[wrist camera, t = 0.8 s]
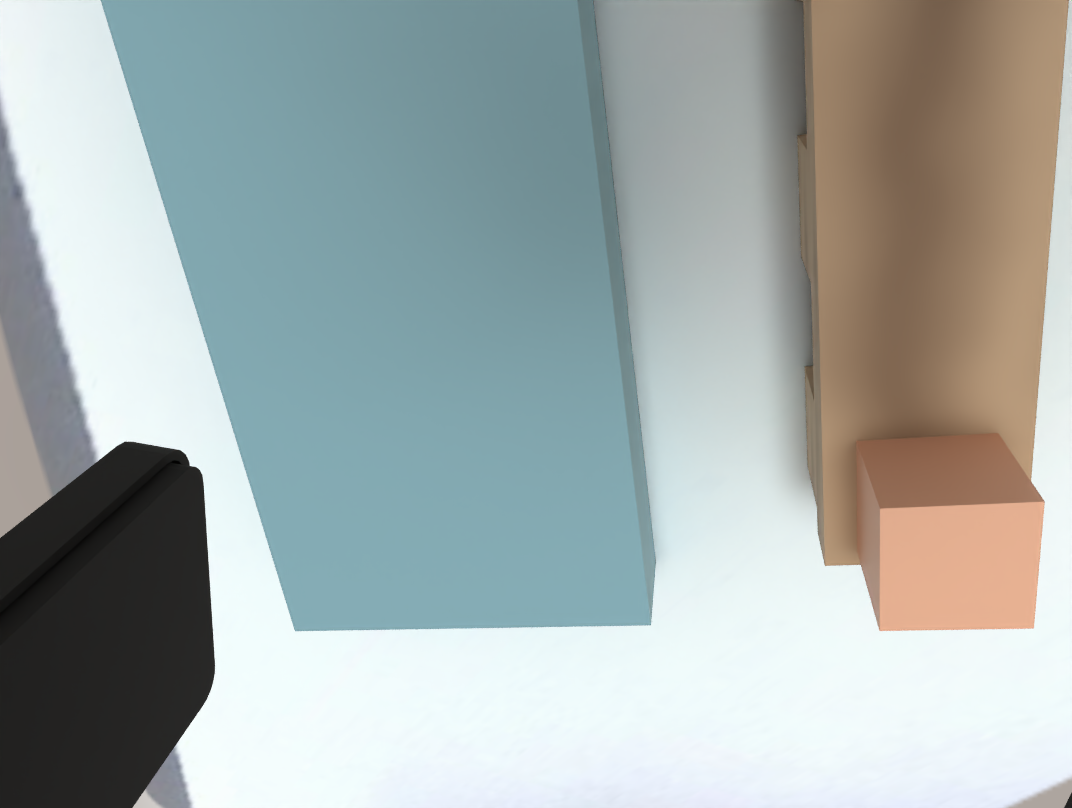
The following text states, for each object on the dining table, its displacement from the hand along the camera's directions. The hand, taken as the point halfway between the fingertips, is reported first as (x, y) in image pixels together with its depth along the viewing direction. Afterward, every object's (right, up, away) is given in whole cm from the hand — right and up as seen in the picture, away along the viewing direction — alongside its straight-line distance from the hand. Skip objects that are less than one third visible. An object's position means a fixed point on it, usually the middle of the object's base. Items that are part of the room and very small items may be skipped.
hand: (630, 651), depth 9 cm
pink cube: (+11, 0, +19) cm, 22 cm away
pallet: (+11, +10, +20) cm, 25 cm away
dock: (-5, +8, +23) cm, 25 cm away
